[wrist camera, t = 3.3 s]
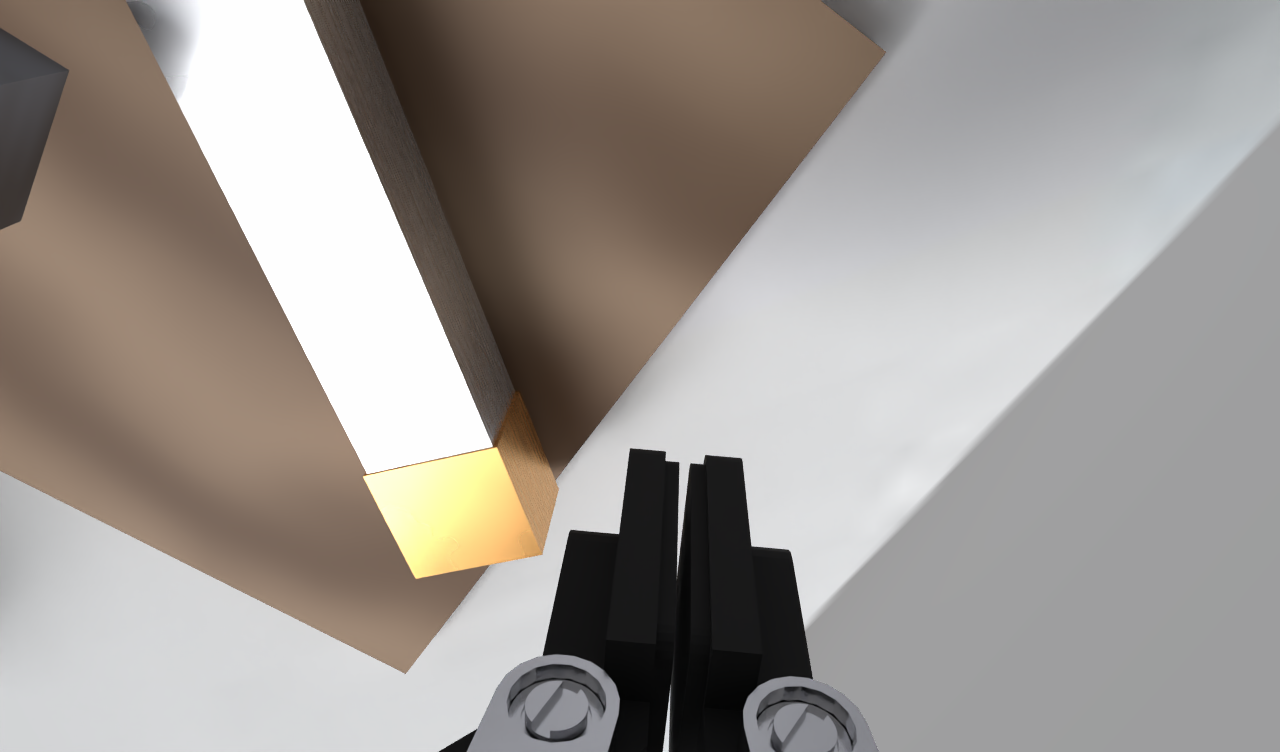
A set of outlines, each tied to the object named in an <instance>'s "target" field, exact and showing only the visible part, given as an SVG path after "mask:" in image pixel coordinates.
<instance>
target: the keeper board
mask: <svg viewBox="0 0 1280 752" xmlns="http://www.w3.org/2000/svg"><path fill="white" fill-rule="evenodd" d="M360 3H361V5H362V8H363V10H364V13H365V15H366V18H367V20H368V23H369V25H370V28H371V30H372V33H373V35H374V38H375V40H376V43H377V45H378V48H379V50H380V53H381V55H382V58H383V60H384V63H385V65H386V68H387V70H388V73H389V75H390V78H391V81H392V83H393V86H394V88H395V91H396V93H397V96H398V98H399V101H400V103H401V106H402V108H403V111H404V113H405V116H406V118H407V121H408V123H409V126H410V128H411V131H412V133H413V136H414V138H415V141H416V143H417V146H418V148H419V151H420V153H421V156H422V158H423V161H424V163H425V166H426V169H427V171H428V174H429V176H430V179H431V181H432V184H433V186H434V189H435V191H436V194H437V196H438V199H439V201H440V204H441V206H442V209H443V211H444V214H445V216H446V219H447V221H448V224H449V226H450V229H451V231H452V234H453V236H454V239H455V241H456V244H457V246H458V249H459V251H460V254H461V257H462V259H463V262H464V264H465V267H466V269H467V272H468V274H469V277H470V279H471V282H472V284H473V287H474V289H475V292H476V294H477V297H478V299H479V302H480V304H481V307H482V309H483V312H484V314H485V317H486V319H487V322H488V324H489V327H490V329H491V332H492V334H493V337H494V339H495V342H496V344H497V347H498V350H499V352H500V355H501V357H502V360H503V362H504V365H505V367H506V370H507V372H508V375H509V377H510V380H511V382H512V385H513V387H514V390H515V391H517V390H520V392H521V395H522V397H523V400H524V402H525V405H526V408H527V410H528V413H529V415H530V418H531V420H532V423H533V425H534V428H535V430H536V433H537V435H538V438H539V440H540V443H541V446H542V448H543V451H544V453H545V456H546V458H547V461H548V463H549V466H550V468H551V471H552V473H553V476H554V478H555V480H556V479H557V477H558V476H559V475H560V473H561V472H562V471H563V470H564V468H565V467H566V466H567V464H568V463H569V462H570V461H571V459H572V458H573V457H574V455H575V454H576V453H577V451H578V450H579V449H580V448H581V446H582V445H583V444H584V442H585V441H586V440H587V439H588V437H589V436H590V435H591V433H592V432H593V431H594V430H595V428H596V427H597V426H598V424H599V423H600V422H601V420H602V419H603V418H604V417H605V415H606V414H607V413H608V411H609V410H610V409H611V408H612V406H613V405H614V404H615V402H616V401H617V400H618V398H619V397H620V396H621V395H622V393H623V392H624V391H625V389H626V388H627V387H628V386H629V384H630V383H631V382H632V380H633V379H634V378H635V376H636V375H637V374H638V373H639V371H640V370H641V369H642V367H643V366H644V365H645V364H646V362H647V361H648V360H649V358H650V357H651V356H652V355H653V353H654V352H655V351H656V349H657V348H658V347H659V345H660V344H661V343H662V342H663V340H664V339H665V338H666V336H667V335H668V334H669V333H670V331H671V330H672V329H673V327H674V326H675V325H676V323H677V322H678V321H679V320H680V318H681V317H682V316H683V314H684V313H685V312H686V311H687V309H688V308H689V307H690V305H691V304H692V303H693V301H694V300H695V299H696V298H697V296H698V295H699V294H700V292H701V291H702V290H703V289H704V287H705V286H706V285H707V283H708V282H709V281H710V280H711V278H712V277H713V276H714V274H715V273H716V272H717V270H718V269H719V268H720V267H721V265H722V264H723V263H724V261H725V260H726V259H727V258H728V256H729V255H730V254H731V252H732V251H733V250H734V248H735V247H736V246H737V245H738V243H739V242H740V241H741V239H742V238H743V237H744V236H745V234H746V233H747V232H748V230H749V229H750V228H751V226H752V225H753V224H754V223H755V221H756V220H757V219H758V217H759V216H760V215H761V214H762V212H763V211H764V210H765V208H766V207H767V206H768V205H769V203H770V202H771V201H772V199H773V198H774V197H775V195H776V194H777V193H778V192H779V190H780V189H781V188H782V186H783V185H784V184H785V183H786V181H787V180H788V179H789V177H790V176H791V175H792V173H793V172H794V171H795V170H796V168H797V167H798V166H799V164H800V163H801V162H802V161H803V159H804V158H805V157H806V155H807V154H808V153H809V151H810V150H811V149H812V148H813V146H814V145H815V144H816V142H817V141H818V140H819V139H820V137H821V136H822V135H823V133H824V132H825V131H826V130H827V128H828V127H829V126H830V124H831V123H832V122H833V120H834V119H835V118H836V117H837V115H838V114H839V113H840V111H841V110H842V109H843V108H844V106H845V105H846V104H847V102H848V101H849V100H850V98H851V97H852V96H853V95H854V93H855V92H856V91H857V89H858V88H859V87H860V86H861V84H862V83H863V82H864V80H865V79H866V78H867V76H868V75H869V74H870V73H871V71H872V70H873V69H874V67H875V66H876V65H877V64H878V62H879V61H880V60H881V58H882V57H883V56H884V55H885V53H886V52H885V51H884V50H883V49H882V48H880V47H879V46H878V45H877V44H875V43H874V42H873V41H871V40H870V39H869V38H868V37H866V36H865V35H864V34H863V33H861V32H860V31H859V30H857V29H856V28H855V27H854V26H852V25H851V24H850V23H849V22H847V21H846V20H845V19H843V18H842V17H841V16H840V15H838V14H837V13H836V12H835V11H833V10H832V9H831V8H829V7H828V6H827V5H826V4H824V3H823V2H822V1H821V0H360ZM0 471H2V472H4V473H6V474H8V475H10V476H12V477H14V478H16V479H18V480H20V481H22V482H24V483H26V484H28V485H30V486H32V487H34V488H36V489H38V490H40V491H42V492H44V493H46V494H48V495H50V496H52V497H54V498H56V499H58V500H60V501H62V502H64V503H66V504H68V505H70V506H72V507H74V508H76V509H78V510H80V511H82V512H84V513H86V514H88V515H90V516H92V517H94V518H96V519H98V520H100V521H102V522H104V523H106V524H108V525H110V526H112V527H114V528H116V529H118V530H120V531H122V532H124V533H126V534H128V535H130V536H132V537H134V538H136V539H138V540H140V541H142V542H144V543H146V544H148V545H150V546H152V547H154V548H156V549H158V550H160V551H162V552H164V553H166V554H168V555H170V556H172V557H174V558H176V559H178V560H179V561H181V562H183V563H185V564H187V565H189V566H191V567H193V568H195V569H197V570H199V571H201V572H203V573H205V574H207V575H209V576H211V577H213V578H215V579H217V580H219V581H221V582H223V583H225V584H227V585H229V586H231V587H233V588H235V589H237V590H239V591H241V592H243V593H245V594H247V595H249V596H251V597H253V598H255V599H257V600H259V601H261V602H263V603H265V604H267V605H269V606H271V607H273V608H275V609H277V610H279V611H281V612H283V613H285V614H287V615H289V616H291V617H293V618H295V619H297V620H299V621H301V622H303V623H305V624H307V625H309V626H311V627H313V628H315V629H317V630H319V631H321V632H323V633H325V634H327V635H329V636H331V637H333V638H335V639H337V640H339V641H341V642H343V643H345V644H347V645H349V646H351V647H353V648H355V649H357V650H359V651H361V652H363V653H365V654H367V655H369V656H371V657H373V658H375V659H377V660H379V661H381V662H383V663H385V664H387V665H389V666H391V667H393V668H395V669H397V670H399V671H401V672H403V673H405V674H406V673H407V671H408V670H409V669H410V667H411V666H412V665H413V664H414V662H415V661H416V660H417V658H418V657H419V656H420V655H421V653H422V652H423V651H424V649H425V648H426V647H427V645H428V644H429V643H430V642H431V640H432V639H433V638H434V636H435V635H436V634H437V633H438V631H439V630H440V629H441V627H442V626H443V625H444V623H445V622H446V621H447V620H448V618H449V617H450V616H451V614H452V613H453V612H454V611H455V609H456V608H457V607H458V605H459V604H460V603H461V601H462V600H463V599H464V598H465V596H466V595H467V594H468V592H469V591H470V590H471V589H472V587H473V586H474V585H475V583H476V582H477V581H478V580H479V578H480V577H481V576H482V574H483V573H484V572H485V570H486V569H487V568H488V567H489V565H485V566H480V567H475V568H469V569H464V570H459V571H454V572H448V573H443V574H438V575H433V576H427V577H422V578H417V579H416V578H415V576H414V574H413V573H412V571H411V569H410V567H409V565H408V563H407V561H406V559H405V557H404V555H403V553H402V551H401V549H400V547H399V545H398V543H397V541H396V540H395V538H394V536H393V534H392V532H391V530H390V528H389V526H388V524H387V522H386V520H385V518H384V516H383V514H382V512H381V510H380V508H379V507H378V505H377V503H376V501H375V499H374V497H373V495H372V493H371V491H370V489H369V487H368V485H367V483H366V481H365V479H364V477H363V476H364V474H365V473H366V470H365V468H364V466H363V464H362V462H361V460H360V458H359V456H358V454H357V452H356V450H355V448H354V446H353V444H352V442H351V440H350V438H349V436H348V434H347V433H346V431H345V429H344V427H343V425H342V423H341V421H340V419H339V417H338V415H337V413H336V411H335V409H334V407H333V405H332V403H331V401H330V399H329V397H328V395H327V393H326V391H325V389H324V388H323V386H322V384H321V382H320V380H319V378H318V376H317V374H316V372H315V370H314V368H313V366H312V364H311V362H310V360H309V358H308V356H307V354H306V352H305V350H304V348H303V346H302V344H301V343H300V341H299V339H298V337H297V335H296V333H295V331H294V329H293V327H292V325H291V323H290V321H289V319H288V317H287V315H286V313H285V311H284V309H283V307H282V305H281V303H280V301H279V299H278V298H277V296H276V294H275V292H274V290H273V288H272V286H271V284H270V282H269V280H268V278H267V276H266V274H265V272H264V270H263V268H262V266H261V264H260V262H259V260H258V258H257V256H256V254H255V253H254V251H253V249H252V247H251V245H250V243H249V241H248V239H247V237H246V235H245V233H244V231H243V229H242V227H241V225H240V223H239V221H238V219H237V217H236V215H235V213H234V211H233V209H232V208H231V206H230V204H229V202H228V200H227V198H226V196H225V194H224V192H223V190H222V188H221V186H220V184H219V182H218V180H217V178H216V176H215V174H214V172H213V170H212V168H211V166H210V164H209V163H208V161H207V159H206V157H205V155H204V153H203V151H202V149H201V147H200V145H199V143H198V141H197V139H196V137H195V135H194V133H193V131H192V129H191V127H190V125H189V123H188V121H187V119H186V118H185V116H184V114H183V112H182V110H181V108H180V106H179V104H178V102H177V100H176V98H175V96H174V94H173V92H172V90H171V88H170V86H169V84H168V82H167V80H166V78H165V76H164V74H163V73H162V71H161V69H160V67H159V65H158V63H157V61H156V59H155V57H154V55H153V53H152V51H151V49H150V47H149V45H148V43H147V41H146V39H145V37H144V35H143V33H142V31H141V29H140V28H139V26H138V24H137V22H136V20H135V18H134V16H133V14H132V12H131V10H130V8H129V6H128V4H127V2H126V0H0Z"/></svg>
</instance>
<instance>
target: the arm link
mask: <svg viewBox="0 0 1280 752" xmlns="http://www.w3.org/2000/svg"><path fill="white" fill-rule="evenodd" d="M126 2H127V4H128V6H129V8H130V10H131V12H132V14H133V16H134V18H135V20H136V22H137V24H138V26H139V28H140V29H141V31H142V33H143V35H144V37H145V39H146V41H147V43H148V45H149V47H150V49H151V51H152V53H153V55H154V57H155V59H156V61H157V63H158V65H159V67H160V69H161V71H162V73H163V74H164V76H165V78H166V80H167V82H168V84H169V86H170V88H171V90H172V92H173V94H174V96H175V98H176V100H177V102H178V104H179V106H180V108H181V110H182V112H183V114H184V116H185V118H186V119H187V121H188V123H189V125H190V127H191V129H192V131H193V133H194V135H195V137H196V139H197V141H198V143H199V145H200V147H201V149H202V151H203V153H204V155H205V157H206V159H207V161H208V163H209V164H210V166H211V168H212V170H213V172H214V174H215V176H216V178H217V180H218V182H219V184H220V186H221V188H222V190H223V192H224V194H225V196H226V198H227V200H228V202H229V204H230V206H231V208H232V209H233V211H234V213H235V215H236V217H237V219H238V221H239V223H240V225H241V227H242V229H243V231H244V233H245V235H246V237H247V239H248V241H249V243H250V245H251V247H252V249H253V251H254V253H255V254H256V256H257V258H258V260H259V262H260V264H261V266H262V268H263V270H264V272H265V274H266V276H267V278H268V280H269V282H270V284H271V286H272V288H273V290H274V292H275V294H276V296H277V298H278V299H279V301H280V303H281V305H282V307H283V309H284V311H285V313H286V315H287V317H288V319H289V321H290V323H291V325H292V327H293V329H294V331H295V333H296V335H297V337H298V339H299V341H300V343H301V344H302V346H303V348H304V350H305V352H306V354H307V356H308V358H309V360H310V362H311V364H312V366H313V368H314V370H315V372H316V374H317V376H318V378H319V380H320V382H321V384H322V386H323V388H324V389H325V391H326V393H327V395H328V397H329V399H330V401H331V403H332V405H333V407H334V409H335V411H336V413H337V415H338V417H339V419H340V421H341V423H342V425H343V427H344V429H345V431H346V433H347V434H348V436H349V438H350V440H351V442H352V444H353V446H354V448H355V450H356V452H357V454H358V456H359V458H360V460H361V462H362V464H363V466H364V468H365V470H366V473H365V474H364V476H363V477H364V479H365V481H366V483H367V485H368V487H369V489H370V491H371V493H372V495H373V497H374V499H375V501H376V503H377V505H378V507H379V508H380V510H381V512H382V514H383V516H384V518H385V520H386V522H387V524H388V526H389V528H390V530H391V532H392V534H393V536H394V538H395V540H396V541H397V543H398V545H399V547H400V549H401V551H402V553H403V555H404V557H405V559H406V561H407V563H408V565H409V567H410V569H411V571H412V573H413V574H414V576H415V578H416V579H417V578H422V577H427V576H433V575H438V574H443V573H448V572H454V571H459V570H464V569H469V568H475V567H480V566H485V565H490V564H496V563H501V562H506V561H511V560H517V559H522V558H527V557H532V556H538V555H542V553H543V549H544V545H545V541H546V537H547V533H548V530H549V526H550V522H551V518H552V514H553V510H554V506H555V502H556V498H557V494H558V490H559V489H558V486H557V484H556V481H555V478H554V476H553V473H552V471H551V468H550V466H549V463H548V461H547V458H546V456H545V453H544V451H543V448H542V446H541V443H540V440H539V438H538V435H537V433H536V430H535V428H534V425H533V423H532V420H531V418H530V415H529V413H528V410H527V408H526V405H525V402H524V400H523V397H522V395H521V392H520V390H517V391H515V390H514V387H513V385H512V382H511V380H510V377H509V375H508V372H507V370H506V367H505V365H504V362H503V360H502V357H501V355H500V352H499V350H498V347H497V344H496V342H495V339H494V337H493V334H492V332H491V329H490V327H489V324H488V322H487V319H486V317H485V314H484V312H483V309H482V307H481V304H480V302H479V299H478V297H477V294H476V292H475V289H474V287H473V284H472V282H471V279H470V277H469V274H468V272H467V269H466V267H465V264H464V262H463V259H462V257H461V254H460V251H459V249H458V246H457V244H456V241H455V239H454V236H453V234H452V231H451V229H450V226H449V224H448V221H447V219H446V216H445V214H444V211H443V209H442V206H441V204H440V201H439V199H438V196H437V194H436V191H435V189H434V186H433V184H432V181H431V179H430V176H429V174H428V171H427V169H426V166H425V163H424V161H423V158H422V156H421V153H420V151H419V148H418V146H417V143H416V141H415V138H414V136H413V133H412V131H411V128H410V126H409V123H408V121H407V118H406V116H405V113H404V111H403V108H402V106H401V103H400V101H399V98H398V96H397V93H396V91H395V88H394V86H393V83H392V81H391V78H390V75H389V73H388V70H387V68H386V65H385V63H384V60H383V58H382V55H381V53H380V50H379V48H378V45H377V43H376V40H375V38H374V35H373V33H372V30H371V28H370V25H369V23H368V20H367V18H366V15H365V13H364V10H363V8H362V5H361V3H360V0H126Z"/></svg>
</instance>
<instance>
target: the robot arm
mask: <svg viewBox="0 0 1280 752" xmlns="http://www.w3.org/2000/svg"><path fill="white" fill-rule="evenodd" d="M665 458H666V452H665V451H654V450H643V449H632V448H630V453H629V461H628V469H627V477H626V485H625V492H624V500H623V508H622V516H621V524H620V532H619V534H610V533H599V532H588V531H577V530H570V532H569V536H568V540H567V545H566V549H565V554H564V559H563V563H562V568H561V573H560V577H559V582H558V587H557V591H556V596H555V601H554V605H553V610H552V615H551V619H550V624H549V629H548V633H547V638H546V643H545V647H544V652H543V656H541V657H536V658H533V659H531V660H528V661H526V662H524V663H521V664H519V665H518V666H517V667H515V668H514V669H513V670H511V671H510V672H509V673H507V674H506V675H505V677H504V678H503V680H502V681H501V683H500V684H499V685H498V687H497V688H496V691H495V693H494V695H493V697H492V699H491V701H490V703H489V705H488V708H487V710H486V712H485V714H484V716H483V718H482V720H481V722H480V725H479V727H478V729H476V730H475V731H473V732H471V733H469V734H468V735H466V736H464V737H463V738H461V739H459V740H458V741H456V742H454V743H452V744H451V745H449V746H447V747H446V748H444V749H442V750H441V751H439V752H663V744H664V735H665V727H666V719H667V710H668V702H669V693H670V685H671V693H670V729H669V752H879V750H878V748H877V745H876V743H875V741H874V738H873V736H872V733H871V731H870V728H869V726H868V724H867V722H866V720H865V718H864V717H863V715H862V714H861V712H860V710H859V708H858V707H857V706H856V705H855V704H854V703H853V702H852V701H851V700H850V699H849V698H847V697H846V696H845V695H844V694H843V693H841V692H839V691H838V690H836V689H834V688H833V687H831V686H829V685H828V684H825V683H822V682H819V681H816V680H813V677H812V671H811V666H810V659H809V654H808V648H807V642H806V636H805V630H804V624H803V618H802V612H801V607H800V601H799V595H798V589H797V583H796V577H795V572H794V566H793V560H792V556H791V552H790V551H789V550H785V549H774V548H763V547H752V546H751V539H750V529H749V519H748V510H747V500H746V491H745V481H744V471H743V462H742V459H741V458H732V457H721V456H710V455H705V459H704V465H703V464H692V463H691V464H690V469H689V477H688V486H687V495H686V504H685V512H684V521H683V530H682V539H681V547H680V556H679V565H678V573H677V540H678V496H679V462H670V461H665Z"/></svg>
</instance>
